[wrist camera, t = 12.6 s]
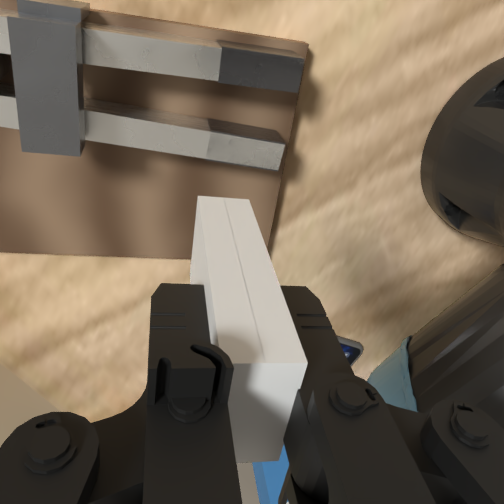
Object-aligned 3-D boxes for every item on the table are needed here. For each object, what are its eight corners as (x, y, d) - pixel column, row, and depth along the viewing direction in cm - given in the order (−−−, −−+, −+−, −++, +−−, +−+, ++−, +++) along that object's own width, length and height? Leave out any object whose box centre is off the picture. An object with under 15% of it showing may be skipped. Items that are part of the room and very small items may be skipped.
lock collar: (89, 3, 26) (74, 12, 21) (92, 126, 30) (80, 156, 25) (33, -6, 25) (5, 1, 21) (43, 121, 29) (21, 151, 24)
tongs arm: (283, 103, 31) (296, 118, 28) (269, 157, 33) (280, 176, 30) (-25, 42, 26) (-48, 52, 23) (-20, 109, 28) (-41, 126, 25)
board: (303, 41, 30) (308, 44, 29) (261, 254, 39) (264, 262, 38) (-108, -22, 25) (-119, -22, 24) (-50, 241, 34) (-57, 250, 33)
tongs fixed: (292, 50, 29) (304, 58, 27) (275, 139, 32) (285, 154, 30) (-110, -10, 24) (-141, -7, 22) (-85, 103, 27) (-109, 117, 25)
